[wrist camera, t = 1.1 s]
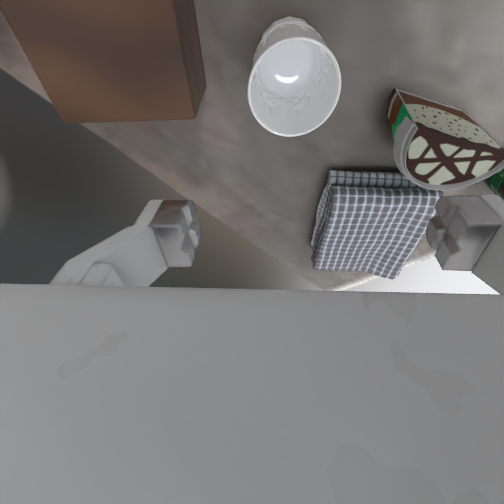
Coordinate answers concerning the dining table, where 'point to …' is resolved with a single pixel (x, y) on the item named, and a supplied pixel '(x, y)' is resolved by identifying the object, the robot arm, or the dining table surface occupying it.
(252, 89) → the white cup
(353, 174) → the towel
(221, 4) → the dining table surface
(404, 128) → the food container
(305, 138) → the dining table surface
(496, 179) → the canned tomato
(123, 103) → the cabinet
